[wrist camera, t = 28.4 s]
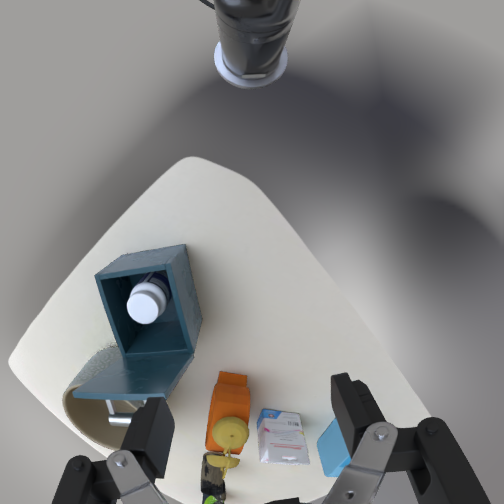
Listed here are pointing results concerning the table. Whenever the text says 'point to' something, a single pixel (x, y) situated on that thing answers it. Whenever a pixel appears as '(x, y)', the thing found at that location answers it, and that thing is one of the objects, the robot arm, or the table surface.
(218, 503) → the beverage can
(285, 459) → the ink box
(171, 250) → the chest
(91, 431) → the planter
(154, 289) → the pill bottle
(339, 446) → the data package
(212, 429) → the alarm clock
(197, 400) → the table surface
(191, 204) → the table surface
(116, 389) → the lid
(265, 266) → the table surface
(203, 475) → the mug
